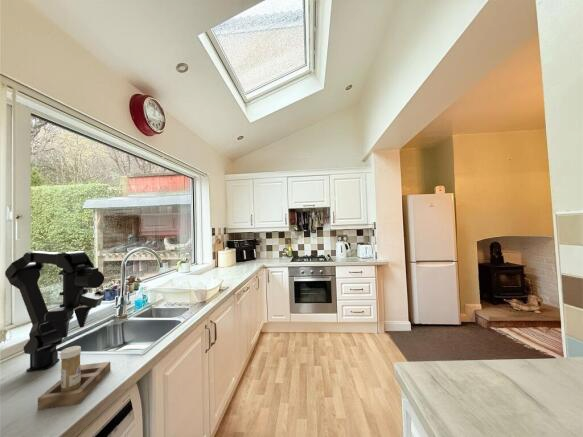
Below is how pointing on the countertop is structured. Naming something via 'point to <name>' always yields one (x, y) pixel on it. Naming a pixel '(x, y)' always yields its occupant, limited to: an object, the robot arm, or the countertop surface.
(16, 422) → the countertop surface
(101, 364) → the socket block
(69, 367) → the sprinkles bottle
